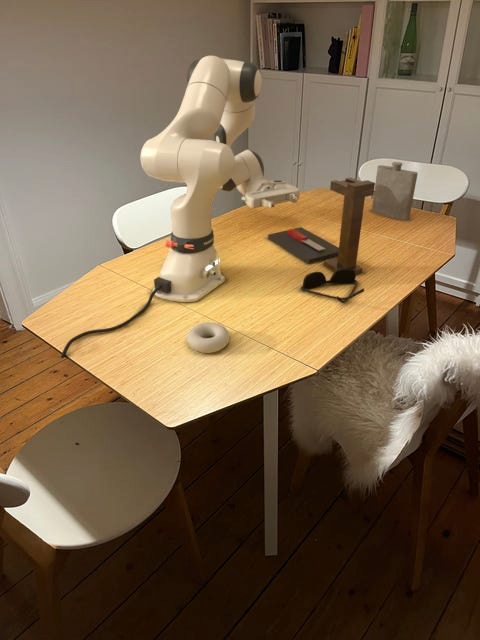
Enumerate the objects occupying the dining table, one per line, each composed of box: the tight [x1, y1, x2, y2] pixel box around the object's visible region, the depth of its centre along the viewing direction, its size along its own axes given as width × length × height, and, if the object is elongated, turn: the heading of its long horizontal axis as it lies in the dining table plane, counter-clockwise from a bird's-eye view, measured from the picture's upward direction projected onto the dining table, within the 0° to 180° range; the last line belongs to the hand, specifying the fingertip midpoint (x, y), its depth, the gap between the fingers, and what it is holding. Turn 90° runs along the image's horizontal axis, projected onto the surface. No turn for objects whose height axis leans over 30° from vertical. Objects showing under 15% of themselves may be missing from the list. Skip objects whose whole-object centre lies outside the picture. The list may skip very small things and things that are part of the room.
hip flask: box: [371, 161, 419, 222], centre depth 176 cm, size 16×4×20 cm, turn 44°
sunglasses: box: [300, 268, 365, 304], centre depth 127 cm, size 17×14×5 cm
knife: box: [287, 228, 326, 251], centre depth 156 cm, size 18×3×2 cm, turn 29°
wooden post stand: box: [322, 177, 376, 275], centre depth 135 cm, size 10×7×27 cm
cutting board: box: [267, 226, 339, 265], centre depth 157 cm, size 24×14×2 cm, turn 29°
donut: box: [186, 321, 230, 354], centre depth 109 cm, size 10×4×10 cm
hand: (284, 202), depth 161 cm, fingers open, 8 cm apart
